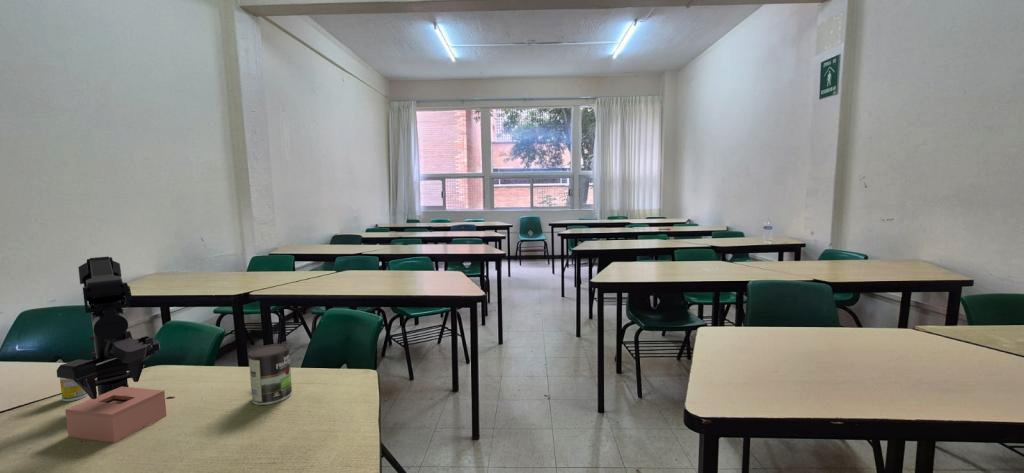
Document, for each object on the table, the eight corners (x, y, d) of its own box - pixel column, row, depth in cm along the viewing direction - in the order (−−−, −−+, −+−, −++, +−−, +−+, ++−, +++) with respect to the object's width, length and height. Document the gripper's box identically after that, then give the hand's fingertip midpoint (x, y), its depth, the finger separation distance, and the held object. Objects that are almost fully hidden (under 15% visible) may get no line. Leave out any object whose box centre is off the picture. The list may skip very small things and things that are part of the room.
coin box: (68, 436, 98) (65, 409, 97) (124, 411, 109) (121, 386, 109) (114, 442, 95) (111, 414, 94) (166, 415, 107) (164, 390, 106)
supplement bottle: (82, 399, 116) (79, 367, 115) (57, 403, 114) (53, 370, 113) (93, 391, 121) (89, 360, 120) (69, 395, 119) (65, 363, 118)
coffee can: (299, 388, 122) (297, 343, 121) (278, 405, 112) (275, 356, 110) (266, 388, 122) (263, 343, 121) (242, 405, 112) (239, 356, 111)
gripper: (89, 345, 89) (97, 412, 91) (174, 320, 108) (179, 376, 109) (51, 342, 91) (59, 407, 93) (140, 318, 110) (145, 373, 111)
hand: (116, 389), depth 101 cm, fingers open, 9 cm apart
